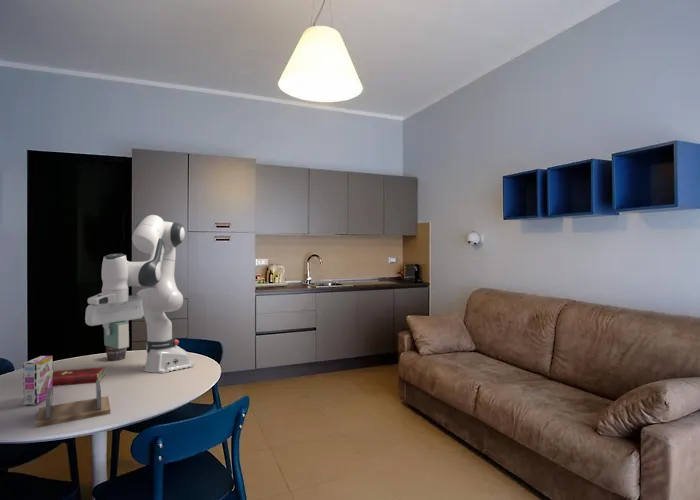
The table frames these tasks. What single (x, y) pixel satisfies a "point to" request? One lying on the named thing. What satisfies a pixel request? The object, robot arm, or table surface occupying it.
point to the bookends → (49, 400)
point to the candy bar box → (37, 379)
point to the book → (117, 335)
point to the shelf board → (73, 411)
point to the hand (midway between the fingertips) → (116, 333)
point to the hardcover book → (77, 376)
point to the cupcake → (115, 353)
